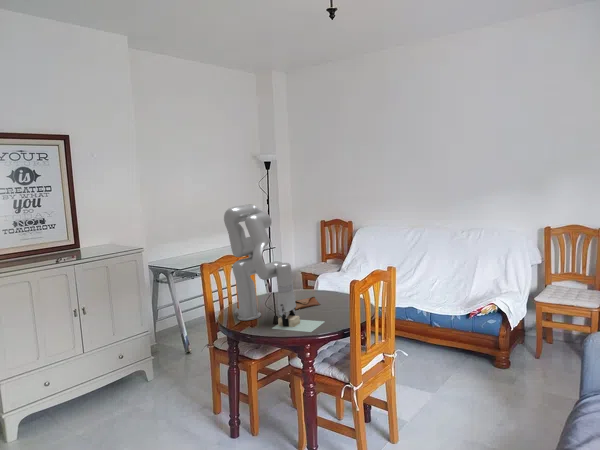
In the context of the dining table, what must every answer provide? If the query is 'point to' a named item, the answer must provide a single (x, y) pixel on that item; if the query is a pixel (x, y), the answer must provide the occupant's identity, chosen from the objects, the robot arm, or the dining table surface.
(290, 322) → the card box
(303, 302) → the sunglasses case
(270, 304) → the dining table surface
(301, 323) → the mat
